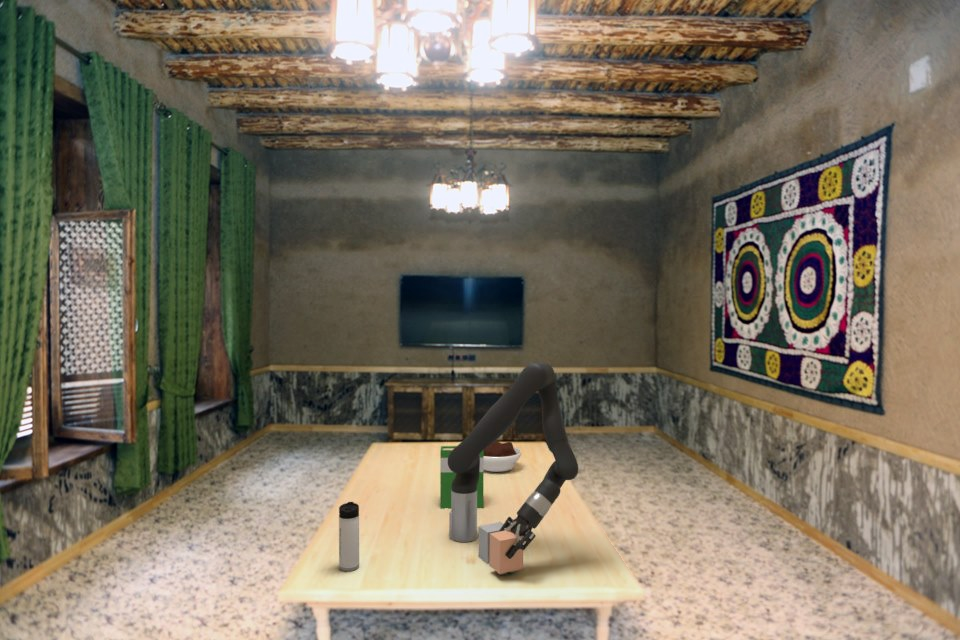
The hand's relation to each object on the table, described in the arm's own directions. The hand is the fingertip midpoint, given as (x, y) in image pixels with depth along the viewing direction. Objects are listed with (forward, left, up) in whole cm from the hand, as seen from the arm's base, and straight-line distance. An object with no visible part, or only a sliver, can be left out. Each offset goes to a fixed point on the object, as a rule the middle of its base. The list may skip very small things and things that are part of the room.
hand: (501, 552), depth 185 cm
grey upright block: (-6, +11, -7) cm, 14 cm away
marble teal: (+3, +2, -7) cm, 8 cm away
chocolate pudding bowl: (-34, +112, -7) cm, 117 cm away
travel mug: (-48, -10, -7) cm, 49 cm away
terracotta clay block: (+1, +1, -5) cm, 5 cm away
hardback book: (-33, +56, -7) cm, 65 cm away
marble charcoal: (0, 0, -7) cm, 7 cm away
